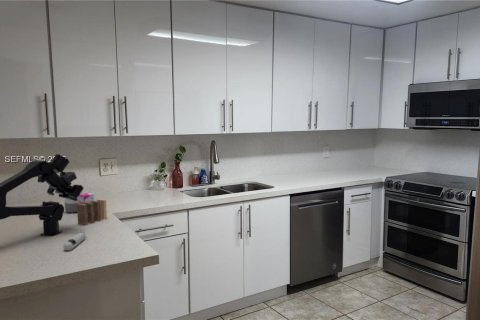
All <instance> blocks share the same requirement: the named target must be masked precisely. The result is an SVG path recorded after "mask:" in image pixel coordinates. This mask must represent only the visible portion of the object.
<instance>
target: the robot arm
mask: <svg viewBox="0 0 480 320" xmlns="http://www.w3.org/2000/svg"><path fill="white" fill-rule="evenodd" d="M69 165H70V160H69V159H68V158H67V157H65V156H62V155H60V153H59V154H57V153H56V154H55V155H54V157H53V158H52V159H51V161H50V162H47V161H46V160H40V159H39V160H38V159H33V160H32V161H31V162H29V163H27V165H26V166H25V167H24V168H23V169H22V170H20V171H19V172H17V173H16V174H14V175H11V177H8V178H6V179H5V180H2V182H0V220H4V219H8V218H11V217H20V216H38V218H39V221H42V226H43V227H42V229H43V230H42V231H43V232H42V233H40V234H39V235H40V236H49V237H50V236H56V235H58V234H60V233H62V232H63V230H61V229H60V224H59V221H62V220H63V216H64V213H65V205H63V204H62V203H60V202H59V201H52V200H48V201H42V204H41V205H12V206H11V205H10V206H7V194H8V193H9V192H11V191H12V190H14V189H15V188H18V187H19V186H21V185H22V184H24V183H26V182H27V181H29V180H31V179H34V178H37V183H46V184H47V185H49V186H48V188H47V190H46V193H47V194H48V195H49V196H53V197H54V196H55V194H58V197H59V198H63V199H65V198H66V199H70V200H73V201H77V197H78V196H79V195H80V193H81V192H82V191H83V190H84V186H83V185H82V184H73V183H72V182H74V181H75V180H77V175H76V173H75V171H64V170H65V169H66V168H67V167H68V166H69ZM72 184H73V185H72Z"/></svg>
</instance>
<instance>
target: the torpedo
mask: <svg viewBox="0 0 480 320" xmlns="http://www.w3.org/2000/svg"><path fill="white" fill-rule="evenodd" d="M81 226H82V225H79V227H80V229H79V230H80V231H79V232H78V233H76V234H75V235H74V236H72V237H71V238H69V239H68V240H67V242H64V243H63V246H62V247H63V250H64V251H72V250H73V249H74V248H76V247H78V245H79V244H81V243H82V242H83V241H84V240H85V238H87V233H85V231H81V230H82V229H81Z"/></svg>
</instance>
